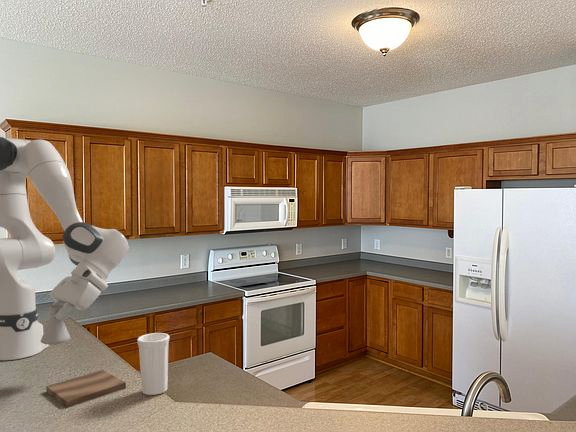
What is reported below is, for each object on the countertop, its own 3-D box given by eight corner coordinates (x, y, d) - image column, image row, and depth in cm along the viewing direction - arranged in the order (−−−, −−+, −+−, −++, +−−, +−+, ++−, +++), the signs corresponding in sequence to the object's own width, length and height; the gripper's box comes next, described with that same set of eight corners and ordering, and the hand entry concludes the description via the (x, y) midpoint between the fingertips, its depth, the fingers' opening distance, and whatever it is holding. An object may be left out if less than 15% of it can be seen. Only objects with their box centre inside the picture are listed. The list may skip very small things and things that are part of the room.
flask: (55, 347, 120) (55, 311, 119) (35, 343, 122) (34, 307, 122) (76, 338, 127) (76, 304, 126) (56, 335, 129) (56, 301, 129)
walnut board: (46, 391, 117) (46, 386, 117) (102, 374, 128) (102, 369, 128) (67, 407, 107) (67, 401, 107) (125, 387, 118) (125, 382, 118)
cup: (138, 388, 118) (136, 335, 118) (169, 383, 121) (167, 331, 121) (139, 400, 111) (137, 343, 110) (172, 394, 114) (171, 339, 113)
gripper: (65, 267, 136) (31, 304, 129) (94, 274, 122) (58, 316, 115) (80, 279, 139) (48, 317, 132) (110, 287, 125) (76, 329, 119)
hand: (53, 316), depth 124 cm, fingers closed on flask, 3 cm apart
